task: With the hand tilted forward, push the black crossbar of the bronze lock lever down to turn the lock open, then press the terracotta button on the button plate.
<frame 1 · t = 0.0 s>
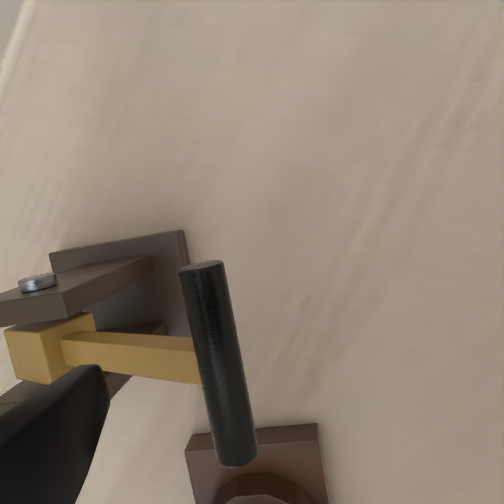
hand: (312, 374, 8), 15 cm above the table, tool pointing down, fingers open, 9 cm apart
lock bracket: (132, 296, 25), on the table
lock lever: (116, 352, 15), point 10 cm above the table, hinge at 26.0°
button plate: (266, 501, 26), on the table
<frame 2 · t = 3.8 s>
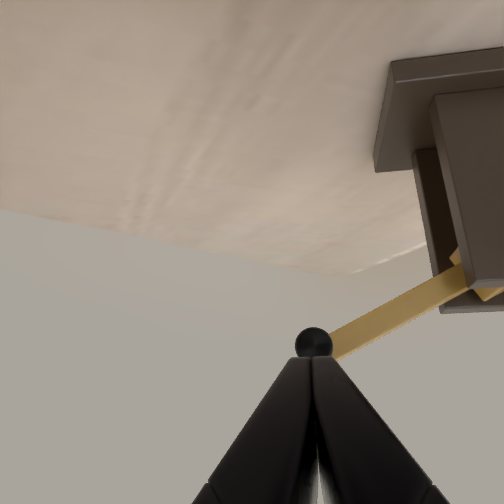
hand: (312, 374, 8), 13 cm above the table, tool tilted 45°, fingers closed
lock bracket: (463, 106, 20), on the table
lock lever: (417, 302, 17), point 10 cm above the table, hinge at 26.0°
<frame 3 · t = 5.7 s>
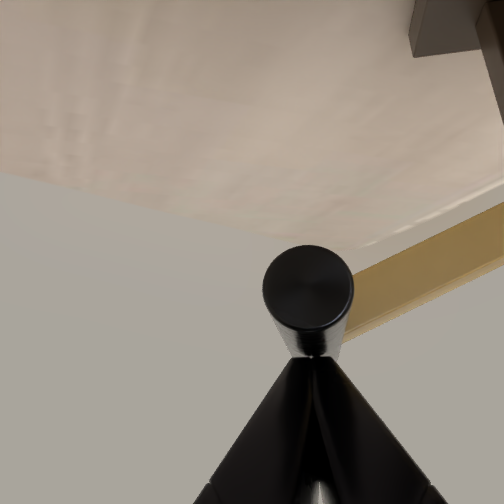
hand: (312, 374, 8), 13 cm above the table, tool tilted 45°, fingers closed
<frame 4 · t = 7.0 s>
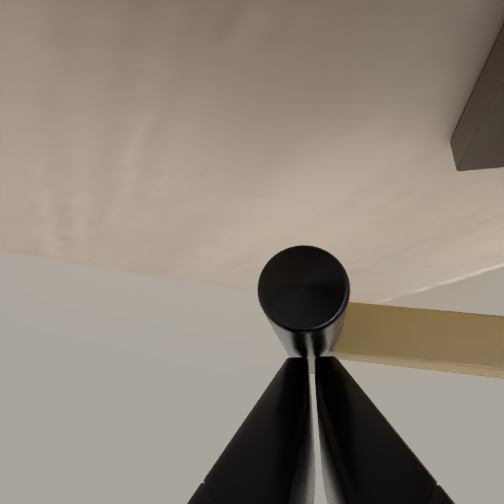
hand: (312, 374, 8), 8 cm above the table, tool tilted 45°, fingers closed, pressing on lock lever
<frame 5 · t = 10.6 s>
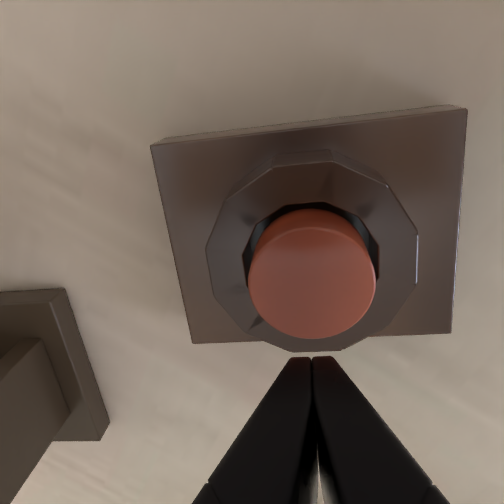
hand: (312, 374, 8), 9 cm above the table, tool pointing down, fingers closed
lock bracket: (23, 362, 20), on the table
release button: (310, 273, 12), point 4 cm above the table, slide at 0.1 cm
button plate: (307, 228, 16), on the table
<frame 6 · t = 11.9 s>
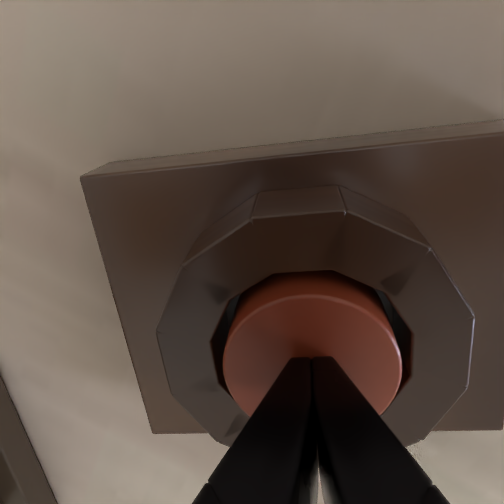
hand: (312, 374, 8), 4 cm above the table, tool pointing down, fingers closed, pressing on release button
release button: (309, 347, 9), point 3 cm above the table, slide at -0.8 cm, touching gripper
button plate: (306, 282, 12), on the table
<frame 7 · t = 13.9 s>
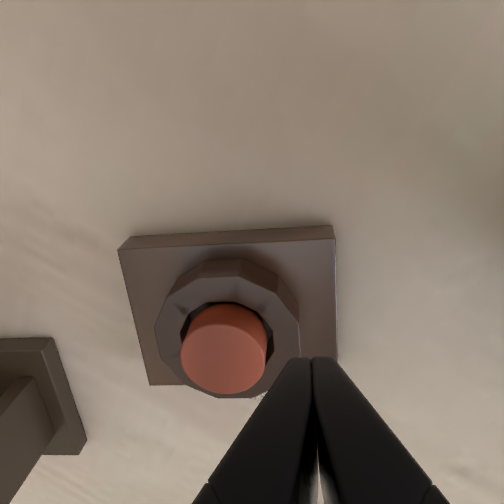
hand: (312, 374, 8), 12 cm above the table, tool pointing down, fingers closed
lock bracket: (18, 392, 26), on the table
release button: (225, 348, 18), point 4 cm above the table, slide at 0.1 cm
button plate: (236, 302, 22), on the table
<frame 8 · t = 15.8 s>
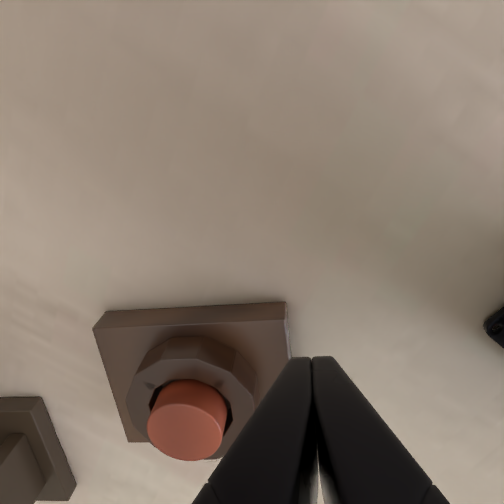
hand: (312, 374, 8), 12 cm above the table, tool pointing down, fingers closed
lock bracket: (12, 443, 28), on the table
release button: (188, 419, 20), point 4 cm above the table, slide at 0.1 cm
button plate: (205, 366, 24), on the table
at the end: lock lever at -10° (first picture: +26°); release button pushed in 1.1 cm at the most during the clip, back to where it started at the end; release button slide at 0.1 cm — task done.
